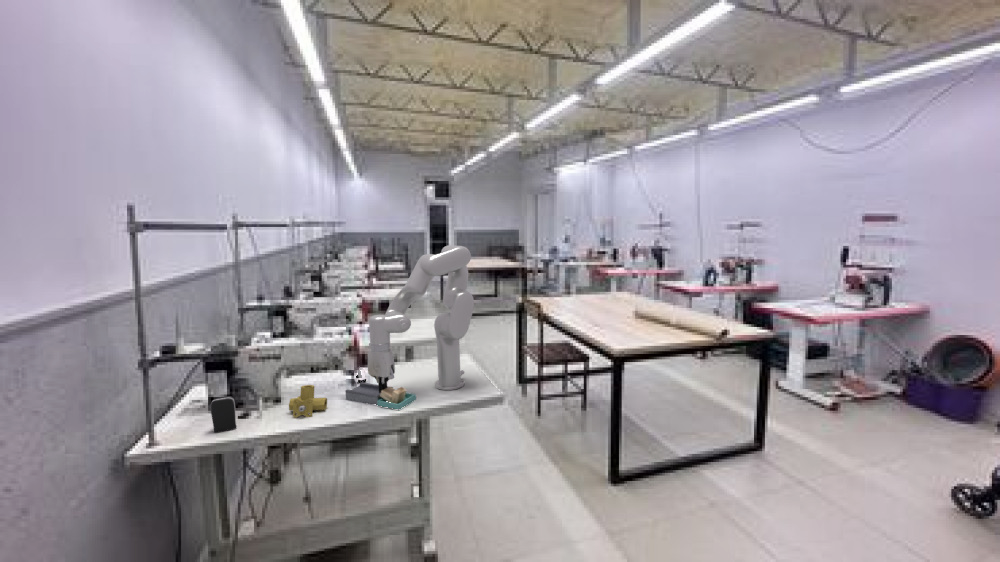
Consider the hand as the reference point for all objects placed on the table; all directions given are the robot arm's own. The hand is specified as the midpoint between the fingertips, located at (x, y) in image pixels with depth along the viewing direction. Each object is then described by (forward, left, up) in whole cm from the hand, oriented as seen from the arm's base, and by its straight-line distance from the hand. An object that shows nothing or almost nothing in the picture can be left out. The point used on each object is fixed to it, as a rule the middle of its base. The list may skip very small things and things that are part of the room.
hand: (383, 391), depth 174 cm
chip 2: (0, +7, 0) cm, 7 cm away
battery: (+40, -36, -4) cm, 54 cm away
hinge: (-17, -29, -4) cm, 34 cm away
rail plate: (0, -7, -4) cm, 8 cm away
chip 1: (+1, +3, -1) cm, 4 cm away
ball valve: (+20, -20, -4) cm, 28 cm away
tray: (0, +6, -4) cm, 7 cm away
